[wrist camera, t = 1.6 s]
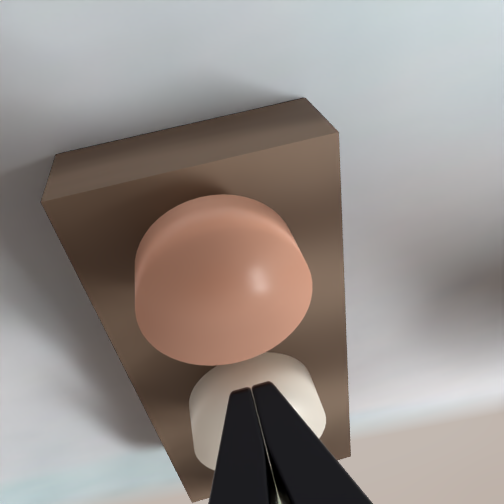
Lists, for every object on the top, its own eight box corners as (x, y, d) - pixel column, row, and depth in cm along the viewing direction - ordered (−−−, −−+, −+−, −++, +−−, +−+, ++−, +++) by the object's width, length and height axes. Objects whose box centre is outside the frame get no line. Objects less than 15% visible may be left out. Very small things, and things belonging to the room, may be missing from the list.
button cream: (175, 373, 15) (178, 416, 13) (306, 338, 15) (322, 376, 14) (203, 445, 17) (209, 487, 16) (314, 414, 18) (329, 452, 16)
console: (56, 154, 14) (40, 201, 12) (305, 97, 15) (338, 131, 12) (186, 445, 24) (192, 502, 22) (329, 405, 25) (350, 456, 23)
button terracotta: (111, 218, 11) (108, 257, 10) (286, 176, 11) (305, 208, 10) (160, 339, 14) (163, 382, 12) (301, 303, 14) (317, 340, 13)
